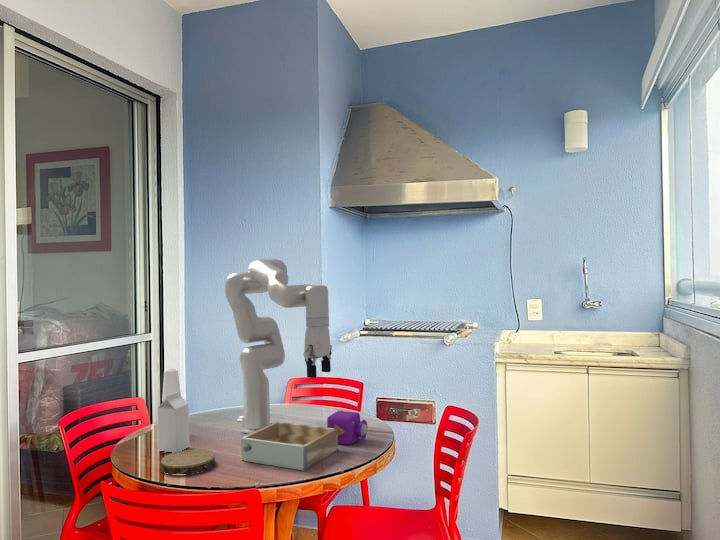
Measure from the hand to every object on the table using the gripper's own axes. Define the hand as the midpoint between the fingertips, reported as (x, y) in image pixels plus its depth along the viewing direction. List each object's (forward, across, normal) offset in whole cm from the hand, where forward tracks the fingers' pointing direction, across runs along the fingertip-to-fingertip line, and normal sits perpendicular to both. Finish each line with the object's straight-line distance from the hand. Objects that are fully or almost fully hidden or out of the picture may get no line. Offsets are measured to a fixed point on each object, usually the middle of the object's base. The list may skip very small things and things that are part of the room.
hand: (319, 374), depth 182 cm
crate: (+25, +7, -7) cm, 27 cm away
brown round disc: (+26, +27, -32) cm, 49 cm away
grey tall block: (+25, +3, -61) cm, 66 cm away
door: (+25, +18, -7) cm, 32 cm away
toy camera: (+25, -12, +4) cm, 28 cm away
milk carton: (+25, +16, -48) cm, 56 cm away
